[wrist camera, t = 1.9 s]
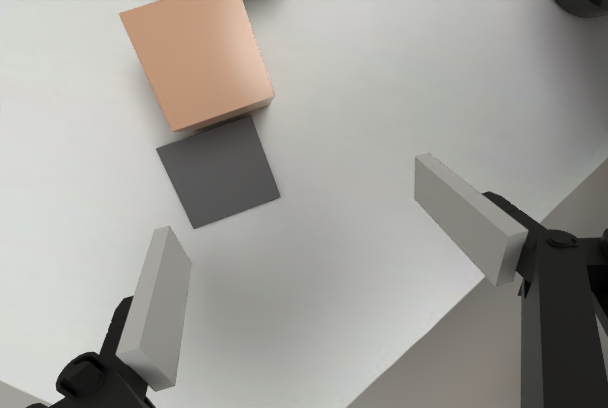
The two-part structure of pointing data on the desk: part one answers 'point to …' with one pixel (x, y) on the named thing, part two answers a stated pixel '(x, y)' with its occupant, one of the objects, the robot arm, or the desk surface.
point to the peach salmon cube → (199, 60)
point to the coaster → (219, 172)
